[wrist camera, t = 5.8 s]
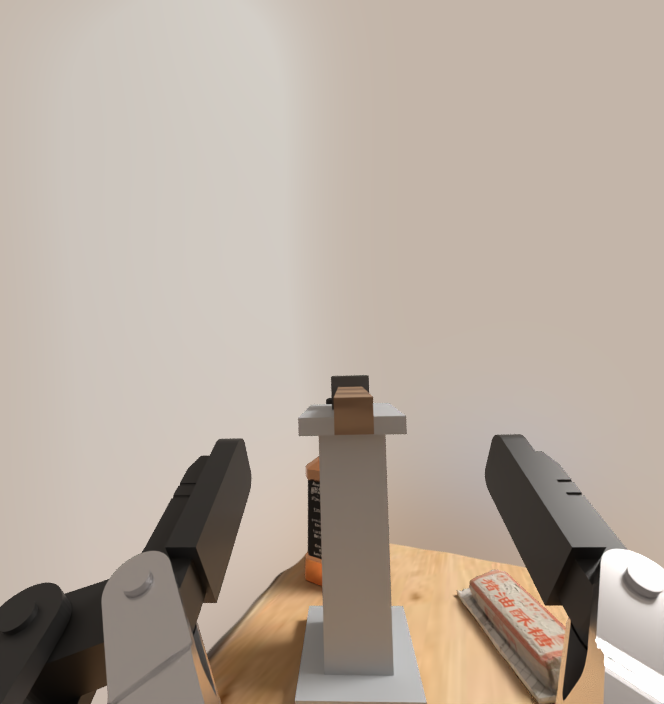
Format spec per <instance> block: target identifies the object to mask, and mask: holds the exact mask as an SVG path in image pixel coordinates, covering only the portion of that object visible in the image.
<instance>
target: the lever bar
mask: <svg viewBox="0 0 664 704" xmlns="http://www.w3.org/2000/svg"><path fill="white" fill-rule="evenodd" d="M331 389H332V410H334V435H368V434H374V414H373V397H372V396H371V395H370V394H369V378H368V376H367V375H356V376H332V377H331Z"/></svg>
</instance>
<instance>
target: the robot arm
mask: <svg viewBox="0 0 664 704" xmlns="http://www.w3.org/2000/svg"><path fill="white" fill-rule="evenodd" d="M485 480H486V485H487V488H488V490H489V492H490V495H491V497H492V499H493V501H494V502H495V505H496V507H497V509H498V511H499V513H500V515H501V517H502V519H503V521H504V523H505V525H506V527H507V529H508V531H509V533H510V535H511V537H512V539H513V541H514V543H515V545H516V547H517V549H518V552H519V554H520V556H521V558H522V560H523V562H524V564H525V565H526V568H527V570H528V572H529V574H530V576H531V578H532V580H533V582H534V584H535V586H536V588H537V590H538V592H539V594H540V596H541V598H542V600H543V602H544V604H545V605H563V607H564V609H565V611H566V613H567V615H568V617H569V618H568V620H567V623H566V629H565V636H564V644H563V652H562V659H561V667H560V674H559V682H558V690H557V697H556V703H555V704H664V569H663V568H662V567H660V566H659V565H657V564H656V563H655V562H653V561H651V560H650V559H648V558H646V557H644V556H642V555H640V554H637V553H635V552H632V551H629V550H628V549H627V548H626V547H625V546H624V545H623V543H622V542H621V541H620V540H619V538H617V536H616V535H615V533H614V532H613V531H612V530H611V528H610V527H609V526H608V525H607V523H606V522H605V521H604V520H603V518H602V517H601V516H600V515H599V514H598V512H597V511H596V510H595V509H594V507H593V506H592V505H591V503H590V502H589V501H588V500H587V499H586V497H585V496H584V495H582V493H581V491H580V490H579V488H578V487H577V486H576V485H575V483H574V482H572V481H571V478H570V477H569V476H568V475H567V473H566V472H565V471H564V470H563V468H562V467H561V466H560V465H559V464H558V463H557V462H556V461H554V460H553V459H552V458H550V457H549V456H547V455H546V454H545V453H544V452H542V451H535V450H534V449H533V448H532V446H531V445H530V444H529V442H528V441H527V440H526V438H525V437H524V436H523V435H520V434H518V435H516V434H515V435H495V436H494V437H493V439H492V443H491V447H490V451H489V456H488V460H487V464H486V468H485ZM250 488H251V470H250V466H249V461H248V456H247V452H246V447H245V442H244V440H243V439H219V440H218V441H217V442H216V444H215V446H214V448H213V450H212V452H211V454H210V456H200V457H199V458H198V459H197V460H196V461H195V463H193V464H192V465H191V466H190V467H189V468H188V470H187V471H186V473H185V475H184V477H183V479H182V481H181V482H180V486H178V488H177V490H176V491H175V493H174V496H173V499H171V501H170V503H169V504H168V506H167V508H166V510H165V512H164V514H163V515H162V517H161V519H160V521H159V523H158V525H157V527H156V529H155V530H154V532H153V534H152V536H151V537H150V539H149V541H148V543H147V545H146V547H145V548H144V550H143V551H142V553H141V554H138V555H136V556H134V557H132V558H131V559H129V560H128V561H126V562H125V563H124V564H122V565H121V566H120V567H119V568H118V569H117V570H116V571H115V572H114V573H113V575H112V576H111V578H110V579H108V580H105V581H102V582H99V583H96V584H93V585H90V586H87V587H84V588H81V589H78V590H75V591H72V592H69V593H66V594H64V593H63V591H62V590H61V589H60V587H59V586H57V585H56V584H53V583H41V584H37V585H34V586H31V587H29V588H27V589H25V590H23V591H21V592H20V593H18V594H17V595H15V596H13V597H12V598H11V599H9V600H8V601H7V602H5V603H4V604H3V605H2V606H1V607H0V704H91V702H92V699H93V697H94V695H95V693H96V690H97V689H99V688H102V687H104V686H107V689H108V703H107V704H221V701H220V698H219V694H218V691H217V688H216V684H215V681H214V678H213V674H212V671H211V667H210V664H209V661H208V657H207V654H206V651H205V647H204V644H203V640H202V637H201V633H200V630H199V627H198V623H197V619H198V615H199V613H200V610H201V606H202V604H203V603H217V600H218V596H219V593H220V590H221V586H222V583H223V580H224V576H225V573H226V569H227V566H228V563H229V560H230V556H231V553H232V549H233V546H234V543H235V539H236V536H237V533H238V529H239V526H240V523H241V519H242V516H243V513H244V509H245V506H246V502H247V499H248V495H249V492H250Z"/></svg>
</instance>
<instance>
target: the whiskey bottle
mask: <svg viewBox="0 0 664 704" xmlns="http://www.w3.org/2000/svg"><path fill="white" fill-rule="evenodd" d="M326 404H332V398H328V399H327V400H326ZM306 477H307V479H308V552H307V553H306V555H305V578H306V580H307V581H310V582H313V583H315V584H318V585H321V586H322V548H321V506H320V463H319V456H318V457H317V458H316V459H314V460H313V461H312V462H310V463H308V464H307V465H306Z"/></svg>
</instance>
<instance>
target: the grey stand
mask: <svg viewBox="0 0 664 704" xmlns="http://www.w3.org/2000/svg"><path fill="white" fill-rule="evenodd" d="M373 414H374V434H368V435H334V410H332V404H323V405H311V406H310V407H309V408H308V409H307V410H306V411H305V412H304V413H303V414H302V415H301V416H300V417H299V418H298V421H299V422H298V423H299V436H319V463H320V506H321V548H322V590H323V606H309V611H308V618H307V624H306V631H305V637H304V644H303V650H302V657H301V663H300V670H299V676H298V683H297V690H296V696H295V704H427V702H426V698H425V694H424V689H423V685H422V681H421V677H420V673H419V669H418V665H417V661H416V657H415V653H414V649H413V645H412V640H411V636H410V632H409V628H408V624H407V620H406V616H405V612H404V608H403V606H391V581H390V552H389V525H388V497H387V470H386V443H385V442H386V439H385V434H407V430H406V416H405V415H404V414H403V413H402V412H400V411H399V410H398V409H396V408H395V407H394V406H392V405H391V404H390V403H373Z"/></svg>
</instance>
